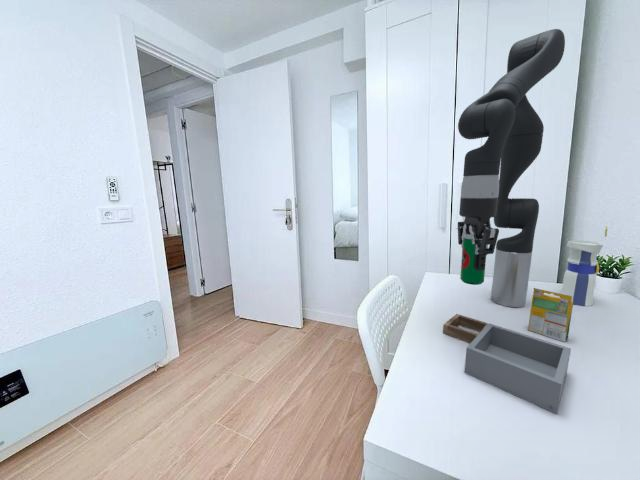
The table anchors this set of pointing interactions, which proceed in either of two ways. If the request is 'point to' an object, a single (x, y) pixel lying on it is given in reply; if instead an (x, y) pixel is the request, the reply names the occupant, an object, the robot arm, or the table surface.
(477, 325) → the frame
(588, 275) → the white plastic bottle
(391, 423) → the table surface
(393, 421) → the table surface
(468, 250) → the soda can
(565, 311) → the crayon box
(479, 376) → the bin
